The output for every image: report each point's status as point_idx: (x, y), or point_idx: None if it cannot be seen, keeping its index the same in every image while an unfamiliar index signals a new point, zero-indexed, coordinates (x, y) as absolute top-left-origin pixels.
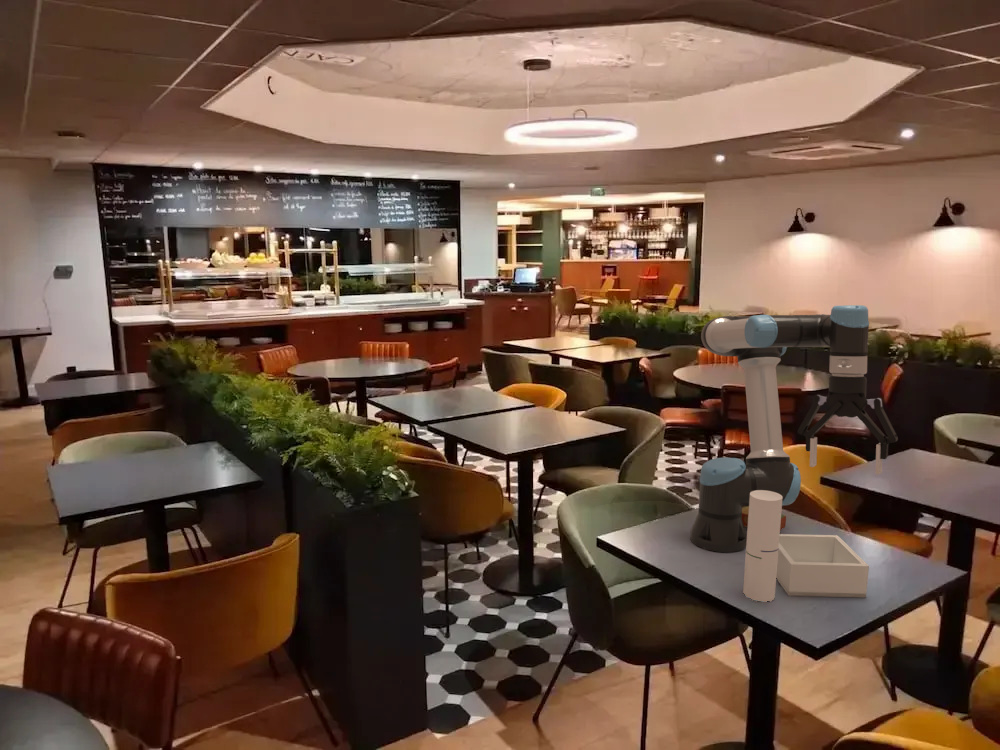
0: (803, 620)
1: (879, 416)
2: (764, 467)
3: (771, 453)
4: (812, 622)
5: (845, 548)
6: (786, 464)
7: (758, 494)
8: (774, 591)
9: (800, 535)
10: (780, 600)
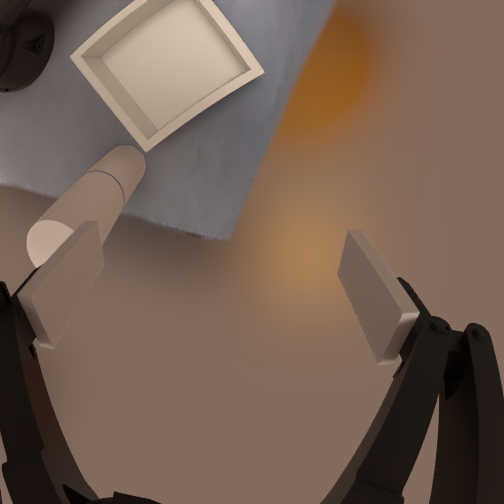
0: (197, 194)
1: (439, 498)
2: None
3: None
4: (208, 192)
5: (210, 14)
6: None
7: (45, 259)
8: (143, 169)
9: (120, 16)
10: (153, 160)
